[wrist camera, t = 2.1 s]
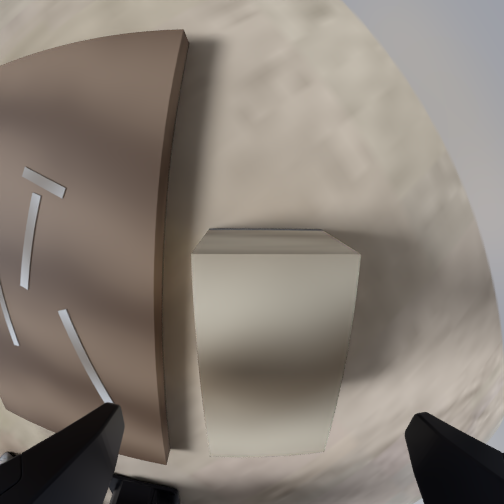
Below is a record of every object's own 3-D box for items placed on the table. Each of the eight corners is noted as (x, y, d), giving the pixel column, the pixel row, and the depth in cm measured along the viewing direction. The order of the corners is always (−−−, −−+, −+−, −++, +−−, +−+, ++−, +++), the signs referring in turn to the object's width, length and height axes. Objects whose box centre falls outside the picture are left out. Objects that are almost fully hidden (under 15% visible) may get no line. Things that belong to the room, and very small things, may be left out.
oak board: (170, 449, 16) (166, 465, 15) (14, 399, 16) (5, 409, 14) (189, 43, 11) (183, 28, 9) (-8, 79, 10) (-23, 75, 9)
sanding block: (305, 387, 15) (323, 451, 11) (216, 389, 15) (210, 456, 10) (320, 228, 13) (360, 254, 8) (209, 228, 13) (191, 254, 8)
